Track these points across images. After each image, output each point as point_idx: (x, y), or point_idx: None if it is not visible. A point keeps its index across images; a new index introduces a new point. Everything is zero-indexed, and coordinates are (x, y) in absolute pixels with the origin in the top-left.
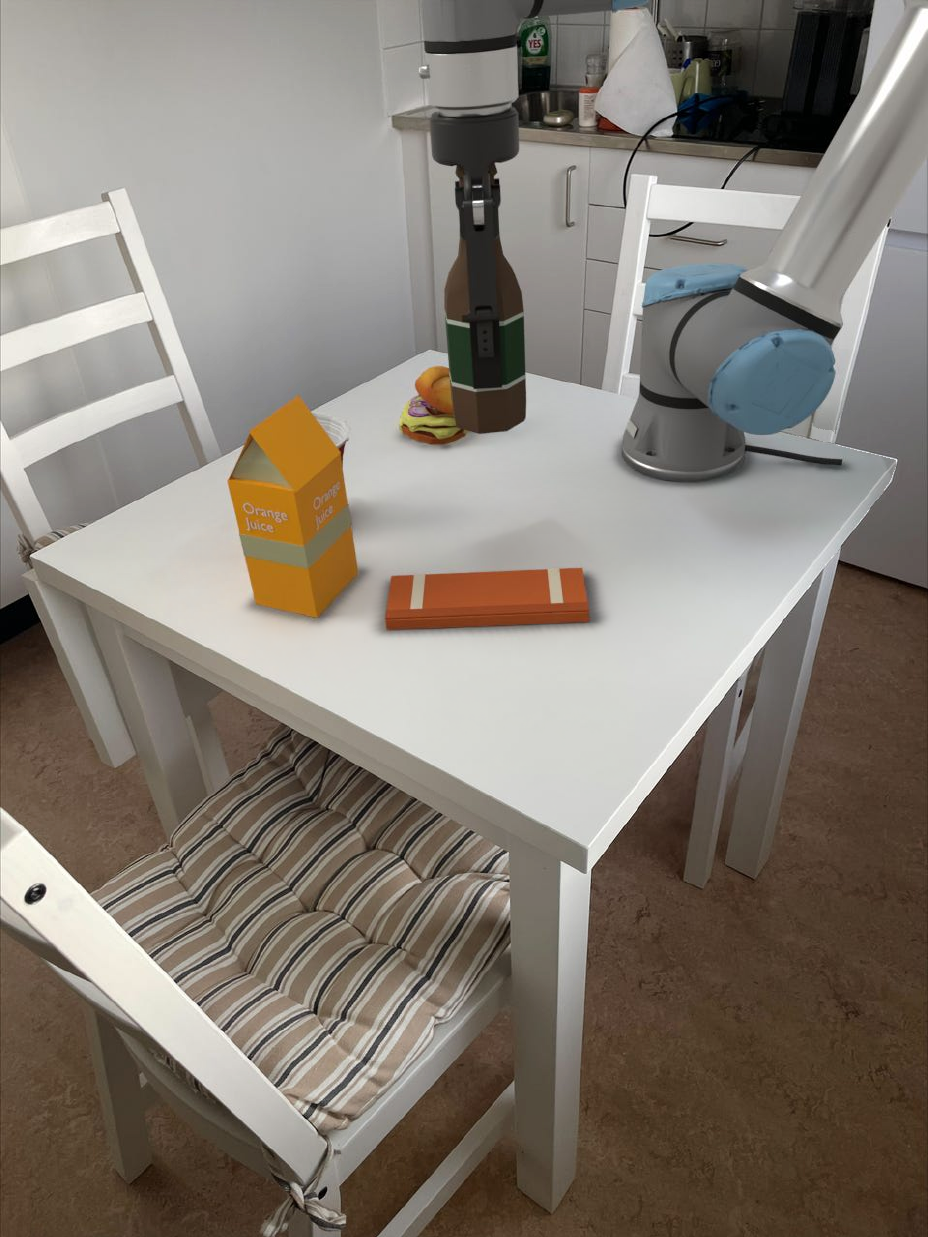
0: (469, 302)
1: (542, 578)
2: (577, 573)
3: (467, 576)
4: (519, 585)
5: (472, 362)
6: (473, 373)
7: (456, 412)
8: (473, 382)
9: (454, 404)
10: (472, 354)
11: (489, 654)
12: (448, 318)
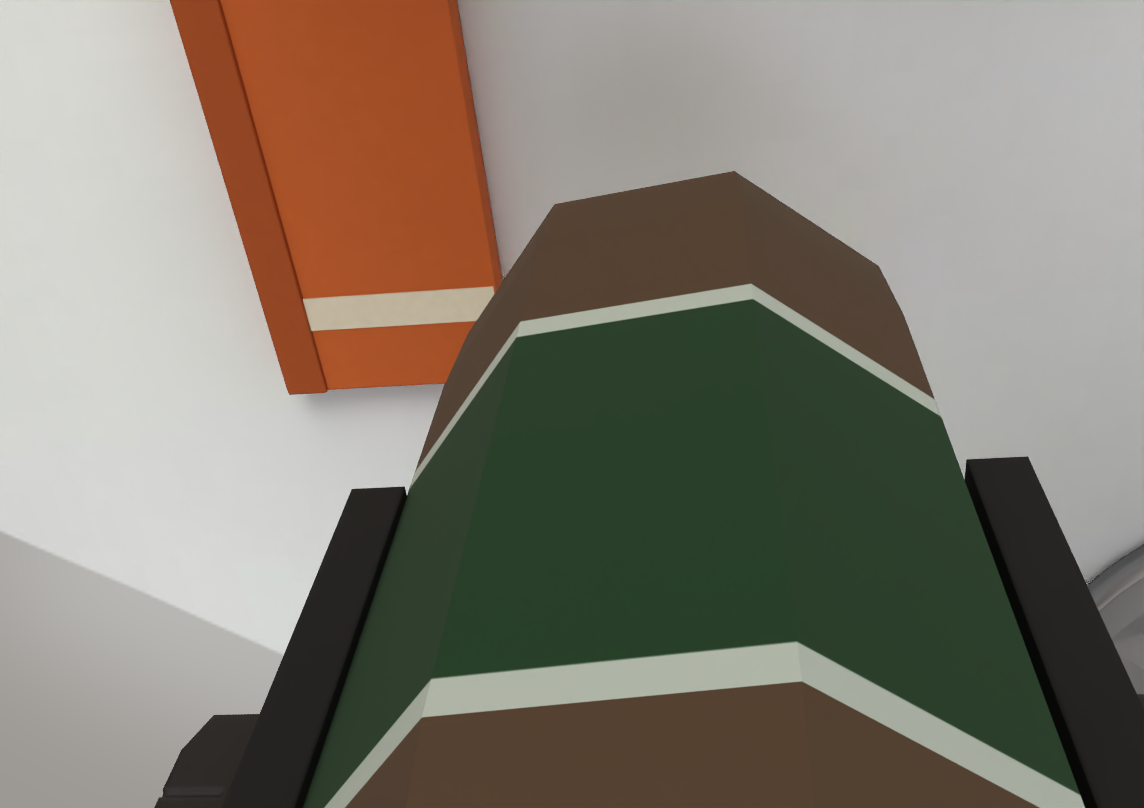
0: None
1: (440, 272)
2: None
3: (423, 23)
4: (391, 205)
5: (300, 625)
6: (323, 567)
7: (533, 249)
8: (339, 521)
9: (531, 264)
10: (277, 677)
11: (85, 118)
12: (410, 736)
